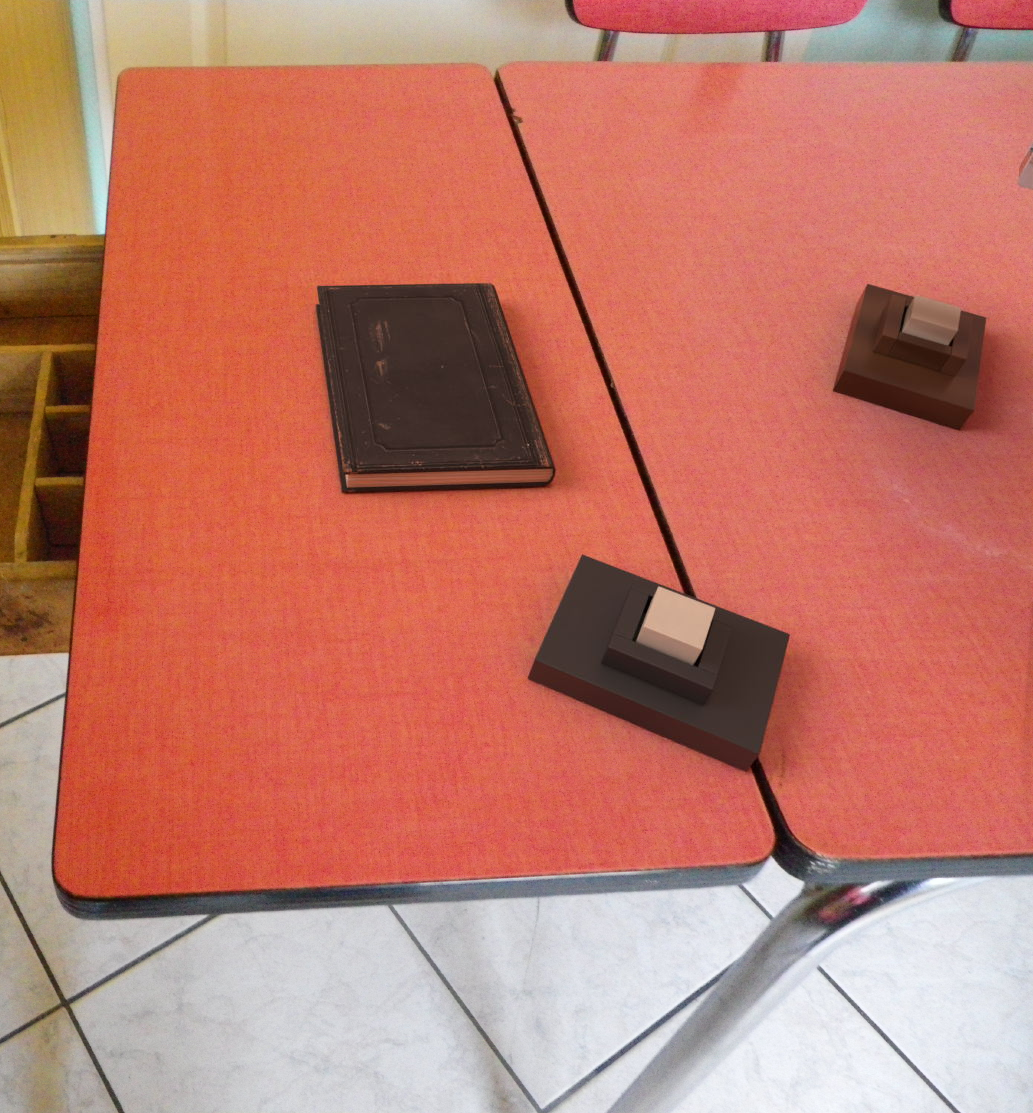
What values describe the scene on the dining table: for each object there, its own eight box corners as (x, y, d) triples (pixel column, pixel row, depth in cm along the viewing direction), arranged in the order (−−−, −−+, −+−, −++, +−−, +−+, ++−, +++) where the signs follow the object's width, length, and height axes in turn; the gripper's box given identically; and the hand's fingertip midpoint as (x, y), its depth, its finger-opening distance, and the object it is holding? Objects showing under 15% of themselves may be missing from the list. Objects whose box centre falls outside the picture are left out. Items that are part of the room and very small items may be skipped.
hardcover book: (341, 493, 76) (344, 471, 74) (315, 307, 91) (317, 285, 89) (551, 487, 77) (558, 465, 75) (492, 304, 92) (496, 282, 90)
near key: (706, 624, 65) (715, 607, 63) (692, 666, 62) (702, 649, 61) (650, 602, 66) (658, 585, 64) (635, 642, 64) (643, 626, 62)
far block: (856, 303, 94) (876, 266, 91) (973, 337, 91) (998, 299, 88) (832, 390, 85) (853, 352, 82) (959, 430, 83) (987, 393, 80)
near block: (777, 653, 68) (801, 617, 65) (746, 772, 62) (771, 738, 59) (574, 574, 72) (588, 536, 69) (527, 678, 66) (540, 642, 63)
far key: (905, 311, 87) (915, 294, 86) (950, 324, 86) (961, 307, 85) (900, 334, 85) (911, 317, 83) (946, 347, 84) (958, 330, 82)
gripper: (1224, 46, 57) (1074, 262, 67) (1205, -67, 68) (1079, 132, 79) (1098, 21, 58) (970, 236, 69) (1100, -84, 70) (991, 112, 81)
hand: (1029, 180), depth 74 cm, fingers closed
